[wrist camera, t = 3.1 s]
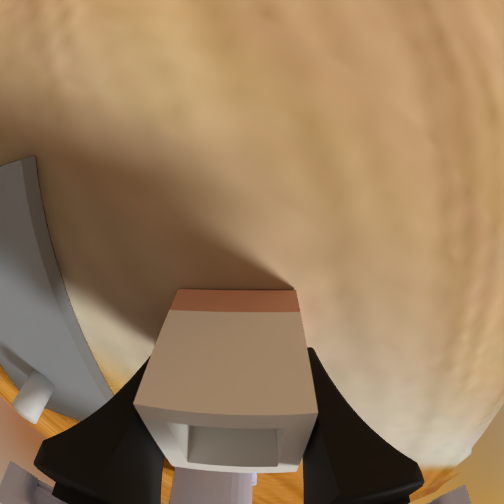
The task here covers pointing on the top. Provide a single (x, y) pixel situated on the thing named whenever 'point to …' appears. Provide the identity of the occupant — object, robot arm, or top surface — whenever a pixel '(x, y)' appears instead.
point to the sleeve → (230, 382)
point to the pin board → (39, 310)
